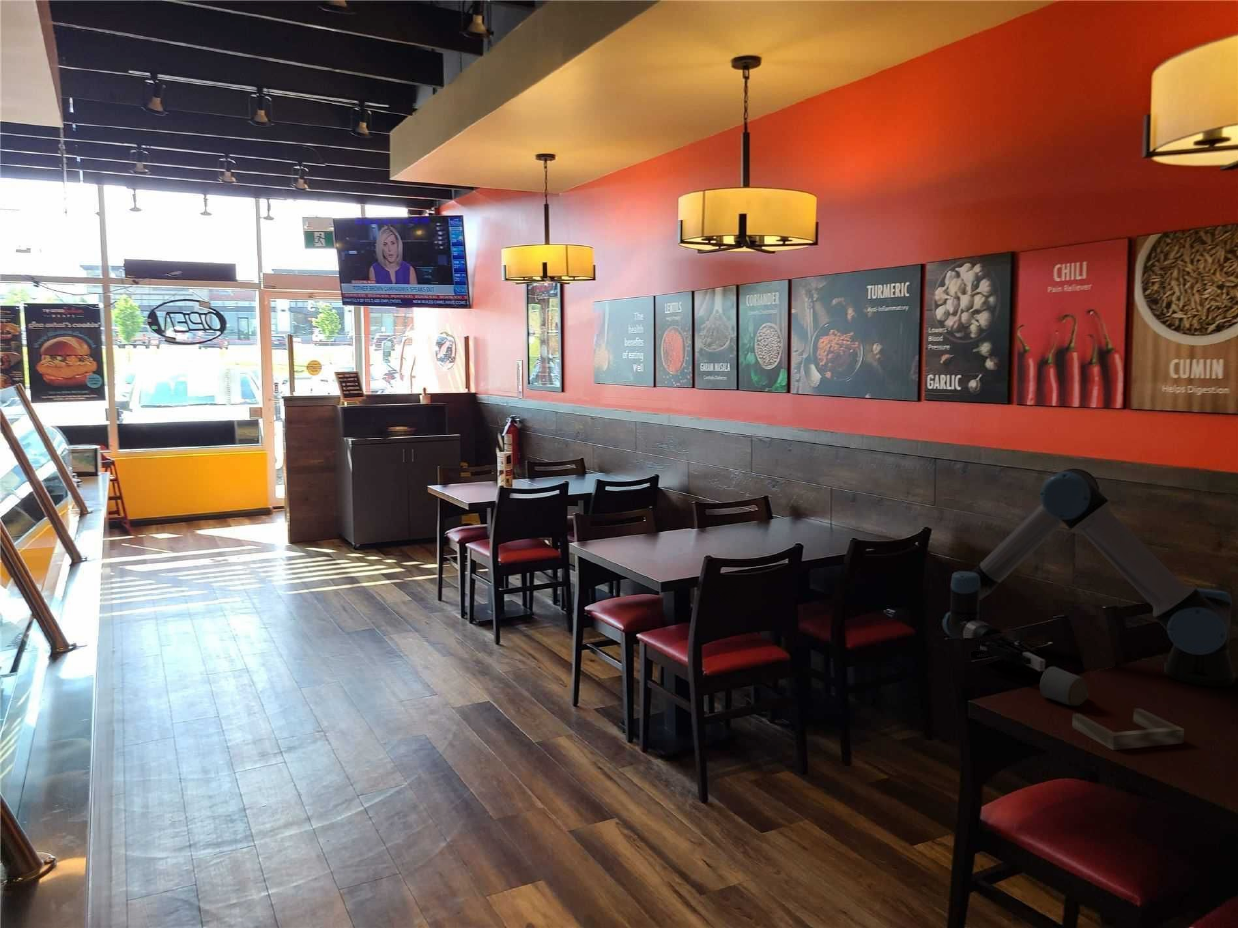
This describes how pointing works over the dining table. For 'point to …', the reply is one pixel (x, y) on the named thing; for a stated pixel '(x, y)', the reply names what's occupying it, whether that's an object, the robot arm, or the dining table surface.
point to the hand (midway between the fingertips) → (1042, 665)
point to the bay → (1132, 732)
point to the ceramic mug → (1063, 687)
